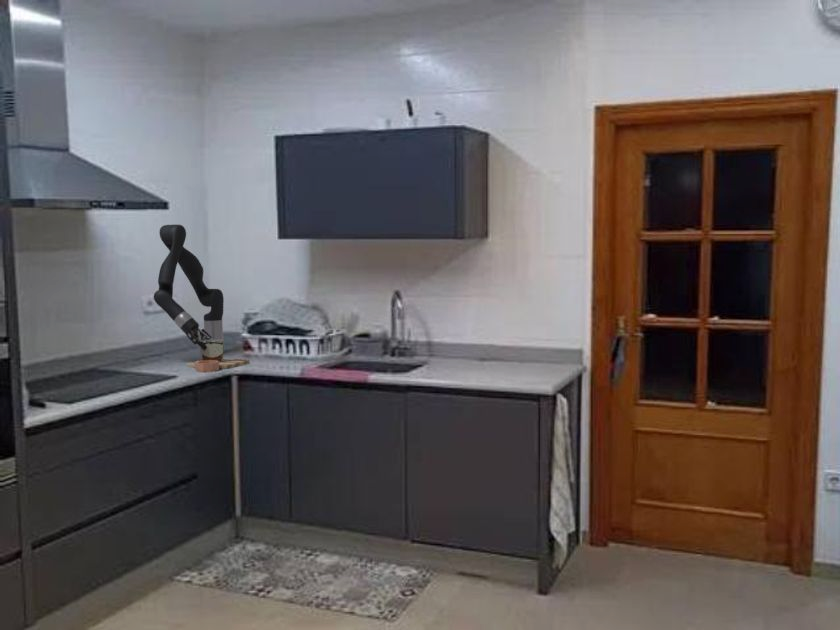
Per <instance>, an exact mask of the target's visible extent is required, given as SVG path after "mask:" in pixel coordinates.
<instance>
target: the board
mask: <svg viewBox="0 0 840 630" xmlns="http://www.w3.org/2000/svg"><path fill="white" fill-rule="evenodd" d="M198 361H202V359H200V360H196V361H191V362H188V363H186V367H187V366H191V367H190V368H195V362H198ZM247 363H248V364H250V359H244V358H234V359H233V358H223V362H219V368H221V370H222V369H224V370H227V369H232V368H235V366H236V367H240V366H244V365H248V364H247ZM243 364H244V365H243ZM239 365H240V366H239Z"/></svg>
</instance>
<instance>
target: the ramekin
mask: <svg viewBox="0 0 840 630" xmlns="http://www.w3.org/2000/svg"><path fill="white" fill-rule="evenodd" d="M197 361H198V362H195V361H194V362H195V367H194V370H195V372H196V371H198V372H197V373H212V372H213V371H214V372H218V371H219V361H217V360H205V361H200V360H197ZM214 372H213V373H214Z"/></svg>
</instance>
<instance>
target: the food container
mask: <svg viewBox="0 0 840 630" xmlns="http://www.w3.org/2000/svg"><path fill="white" fill-rule="evenodd" d="M201 342H203V343H204V344H205V345H206V346H207V349H206V350H203V349H202V348H201V347H200V346H199V347H200V354H201V360H202V361H205V360H217V361H219V362H223V359H224V352H223V350H224V351H225V346H226V342H225V339H224V340H217V339H214V340H201Z"/></svg>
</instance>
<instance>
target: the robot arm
mask: <svg viewBox="0 0 840 630" xmlns="http://www.w3.org/2000/svg"><path fill="white" fill-rule="evenodd" d="M159 237H160V240H161V241H162V243H163V245H164V246H165V247H166V248H167V249H168V255H167V256H166V257H165V259H164V260H163V262H162V264H161V266H160V268H159V273H158V277H157V279H158V280H157V281H158V282H157V283H158V290H156V291H155V292H154V294H153V301H154V302H155V303H156V304H157V305H158V306H159V307H160V308H161V309H162V310H163V311H164V312H165V313H166V314H167V315H168V316H169V317H170V319H172V321H173V322H174V323H175V324H176V326H177V327H178V328H179V329H180V330H181V331H182V332H183V333H184V334H185V335H186V337H187V338H188V339H189V340H190V342H192V344H193V345H197V346H199V347H201V348H202V349H203V350H206V349H207V346H206V345H205V344H204V343H203V342H201V341H202V340H214V339H217V340H224V341H225V334H224V332H223V331H224V330H223V329H224V328H223V316H224V299H225V298H224V293H223V291H222V290H221V289H220V288H208V287H207V286H206V284H205V283H204V267H203V265H202V264H201V263H202V262H200V260H199V259H198V257H197V256H196V255H195V254H194V253H192V252H191V251H190V250H188V249H187V248H186V247H184V245H185V241H186V238H187V231H186V228H185V227H184V225H182V224H165V225H162V226H161V227H160V228H159ZM177 265H179V267H180V268H181V270H182V272H183V273H184V275H185V276H186V278H187V280H188V282H189V284H190V285H191V287H192V289H193V290H194V292H195V294H196V296H197V299H198V301H199V303H200V304H201V305H202V306H204V307H207V308H208V307H209V308H210V311H208V312H207V313H205V314H203V328H202V329H200V328H199V327H200V323H198V322H197V321H196V320H195V319H194V317H193V316H192V315H191V314H189V313H188V312H187V311H186V310H185V309H184V308H183V307H182V306H181V305H180V304H179V303H178V302H176V300H175V299H174V298H173V295H174V293H173V292H174V291H173V290H174V280H175V275H176V269H177ZM201 348H200V349H201ZM223 353H225V349H224V350H223Z"/></svg>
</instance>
